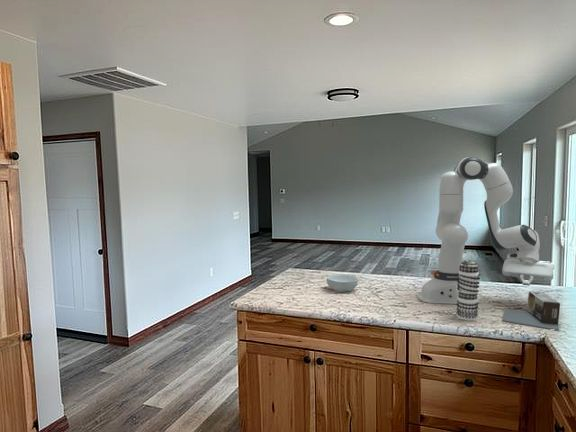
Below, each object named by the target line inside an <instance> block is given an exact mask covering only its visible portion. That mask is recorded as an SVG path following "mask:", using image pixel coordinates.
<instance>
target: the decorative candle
mask: <svg viewBox="0 0 576 432" xmlns="http://www.w3.org/2000/svg"><path fill="white" fill-rule="evenodd" d="M459 264H460V267H459V268H460V269H459V275H458V276H457V278H458V279H457V282H458V284H457V286H458V287H457V290H458V291H459V293H458V294H459V295H458V300H457V302H458V303H457V304H456V316H455V317H457V318H458V319H460V320H463V321H477V320H478V316H479V310H478V309H479V302H478V301H479V300H478V294H479V292H480V290H479V289H478V288H480V282H479V281H480V279H481V278H480V276H481V274H480V273H479V267H480V264H478V262H477V261H476V260H472V259H462V261H461V263H459Z"/></svg>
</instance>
